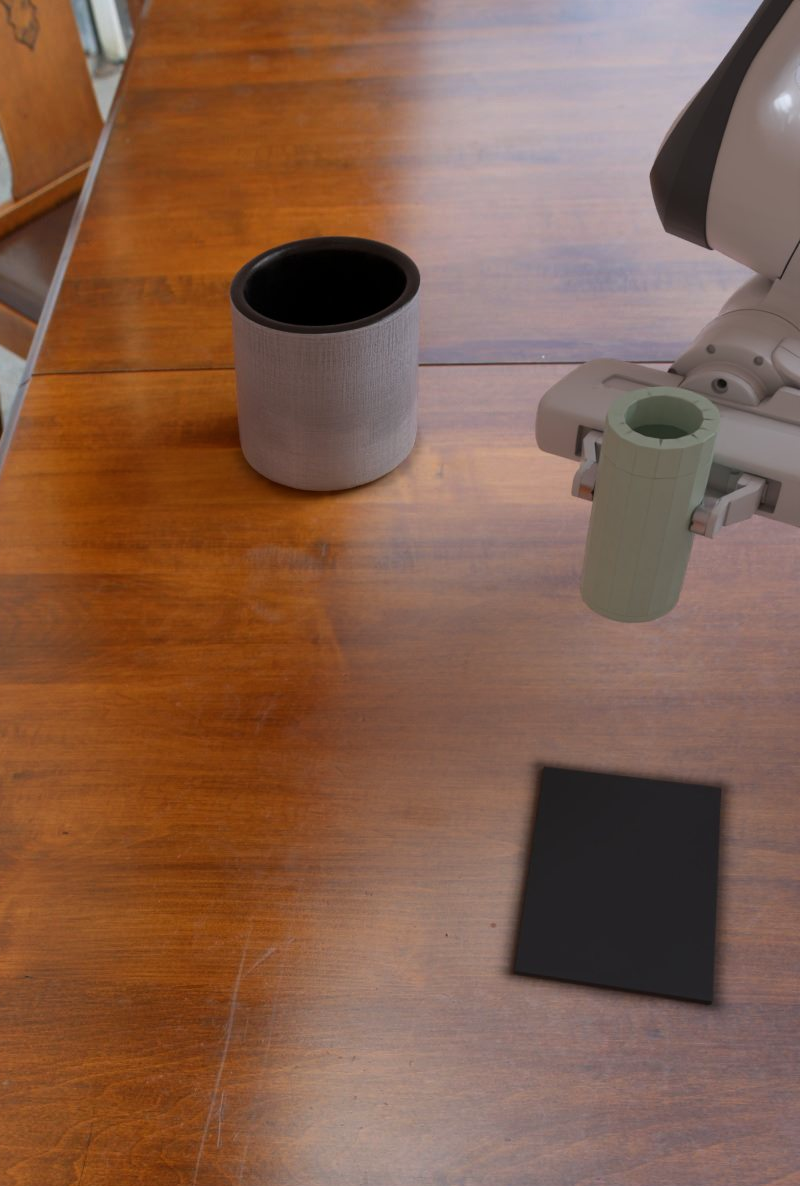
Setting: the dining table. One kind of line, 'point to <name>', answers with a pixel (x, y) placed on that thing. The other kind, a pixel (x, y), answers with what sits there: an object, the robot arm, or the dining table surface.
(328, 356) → the planter
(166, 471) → the dining table surface
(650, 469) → the green hollow cylinder
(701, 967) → the mat
